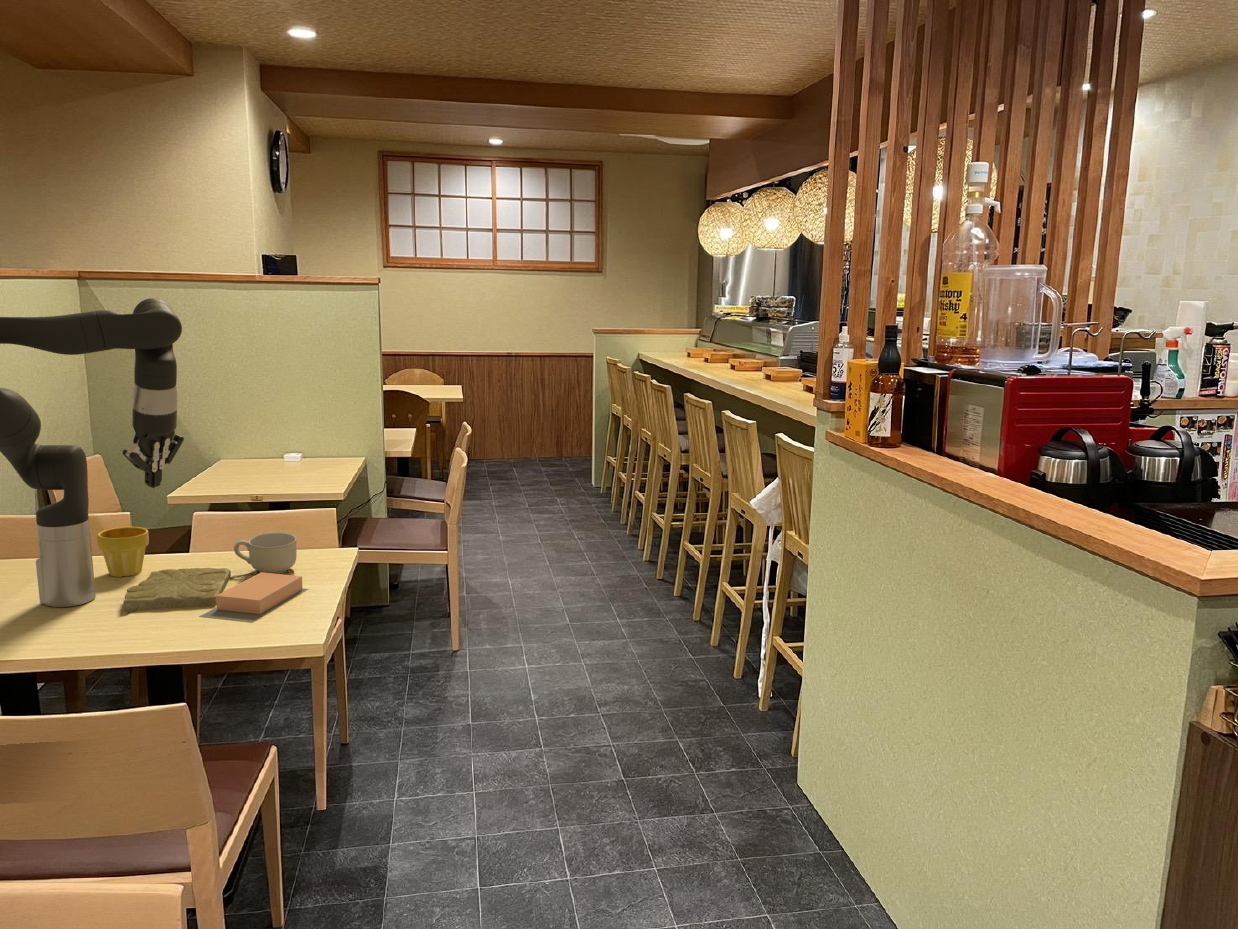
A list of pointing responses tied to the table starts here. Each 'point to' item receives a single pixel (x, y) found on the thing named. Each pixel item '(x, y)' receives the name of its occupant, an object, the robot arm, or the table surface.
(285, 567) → the teacup
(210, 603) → the decorative tile
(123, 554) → the plant pot
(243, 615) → the rubber mat
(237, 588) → the terracotta tile
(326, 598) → the table surface
